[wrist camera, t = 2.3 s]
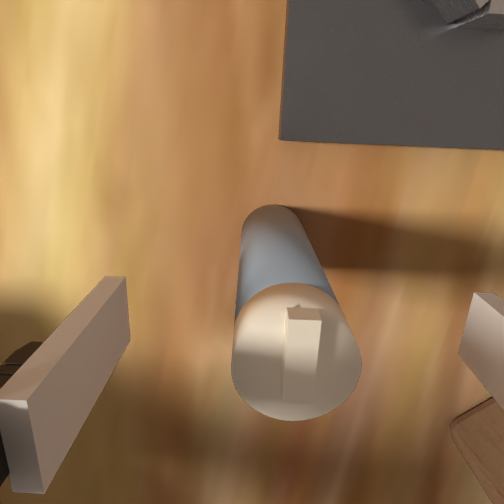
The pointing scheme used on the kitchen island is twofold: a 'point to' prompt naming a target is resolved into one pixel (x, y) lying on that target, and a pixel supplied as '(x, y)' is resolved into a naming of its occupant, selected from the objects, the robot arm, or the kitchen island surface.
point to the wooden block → (483, 446)
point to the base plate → (394, 73)
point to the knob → (288, 324)
